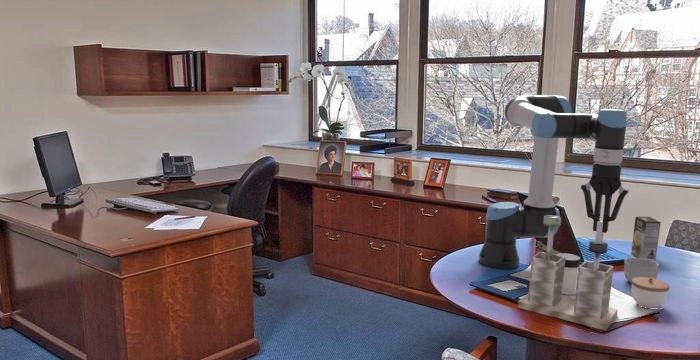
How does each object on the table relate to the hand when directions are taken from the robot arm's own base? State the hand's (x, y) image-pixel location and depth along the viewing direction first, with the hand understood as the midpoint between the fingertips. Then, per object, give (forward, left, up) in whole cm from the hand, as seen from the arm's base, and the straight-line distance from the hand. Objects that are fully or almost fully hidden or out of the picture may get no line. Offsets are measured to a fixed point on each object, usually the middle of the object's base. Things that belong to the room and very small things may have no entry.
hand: (598, 242), depth 171 cm
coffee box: (+1, +79, -24) cm, 83 cm away
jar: (-13, +18, -24) cm, 33 cm away
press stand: (-7, 0, -24) cm, 25 cm away
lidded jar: (+12, +22, -24) cm, 35 cm away
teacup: (+5, +45, -24) cm, 51 cm away
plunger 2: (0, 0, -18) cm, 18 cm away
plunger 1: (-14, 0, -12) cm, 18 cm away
